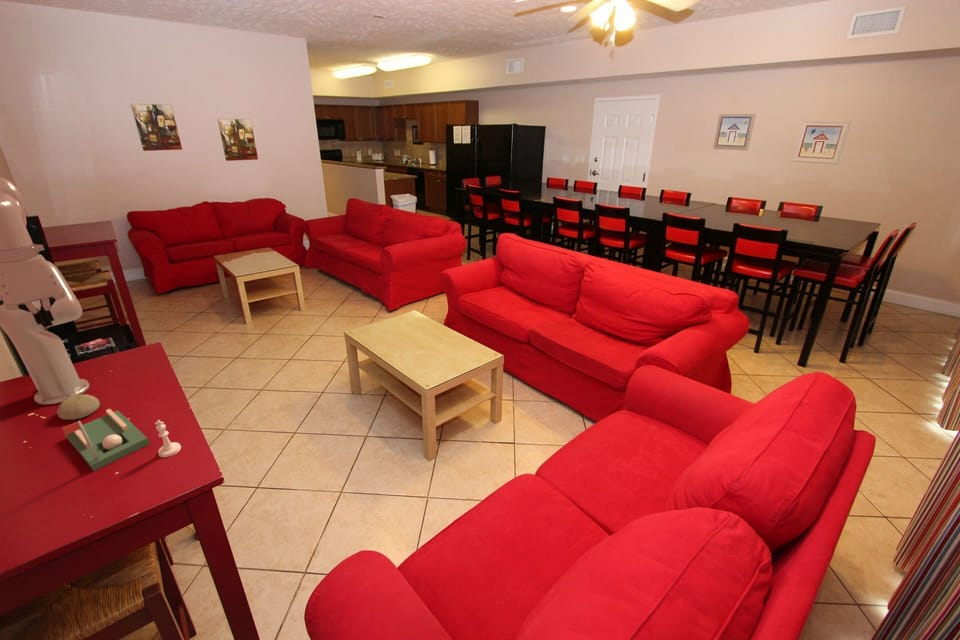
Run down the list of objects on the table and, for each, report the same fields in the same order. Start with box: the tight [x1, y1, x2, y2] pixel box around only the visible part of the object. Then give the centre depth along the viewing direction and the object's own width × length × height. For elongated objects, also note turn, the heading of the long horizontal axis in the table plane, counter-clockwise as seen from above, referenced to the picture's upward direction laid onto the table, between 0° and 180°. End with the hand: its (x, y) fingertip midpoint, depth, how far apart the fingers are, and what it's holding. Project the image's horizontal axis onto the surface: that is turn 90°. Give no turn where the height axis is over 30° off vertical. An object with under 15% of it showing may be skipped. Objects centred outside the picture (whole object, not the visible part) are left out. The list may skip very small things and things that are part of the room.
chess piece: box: [154, 419, 182, 458], centre depth 109 cm, size 5×5×10 cm
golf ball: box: [102, 434, 122, 450], centre depth 111 cm, size 4×4×4 cm
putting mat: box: [61, 408, 150, 472], centre depth 110 cm, size 20×14×14 cm
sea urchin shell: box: [56, 393, 101, 420], centre depth 124 cm, size 9×8×8 cm
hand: (47, 325), depth 105 cm, fingers closed
